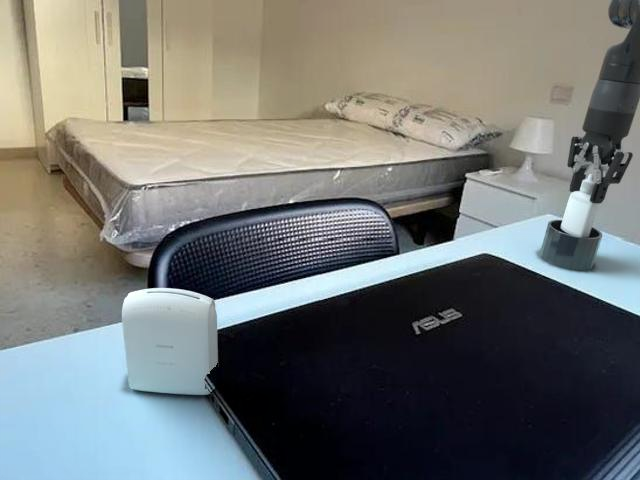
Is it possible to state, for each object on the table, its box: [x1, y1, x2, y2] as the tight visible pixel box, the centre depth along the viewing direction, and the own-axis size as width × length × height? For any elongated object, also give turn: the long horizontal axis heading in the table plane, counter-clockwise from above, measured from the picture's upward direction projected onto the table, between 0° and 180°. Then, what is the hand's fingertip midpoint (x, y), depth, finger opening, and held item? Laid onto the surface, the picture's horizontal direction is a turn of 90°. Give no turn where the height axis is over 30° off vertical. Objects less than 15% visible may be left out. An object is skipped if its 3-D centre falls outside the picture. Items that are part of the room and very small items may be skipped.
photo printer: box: [121, 287, 219, 396], centre depth 56 cm, size 10×4×12 cm, turn 88°
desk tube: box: [539, 219, 603, 272], centre depth 99 cm, size 10×10×7 cm
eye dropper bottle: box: [561, 173, 600, 238], centre depth 96 cm, size 4×6×12 cm
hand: (584, 197), depth 95 cm, fingers closed on eye dropper bottle, 5 cm apart
